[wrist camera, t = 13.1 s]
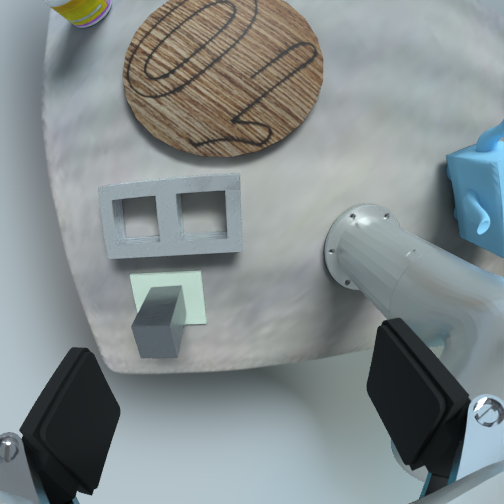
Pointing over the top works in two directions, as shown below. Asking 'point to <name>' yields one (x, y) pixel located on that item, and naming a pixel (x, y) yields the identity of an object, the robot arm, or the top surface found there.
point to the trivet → (223, 74)
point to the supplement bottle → (81, 10)
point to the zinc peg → (160, 322)
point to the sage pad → (187, 279)
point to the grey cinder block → (170, 217)
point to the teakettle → (480, 190)
